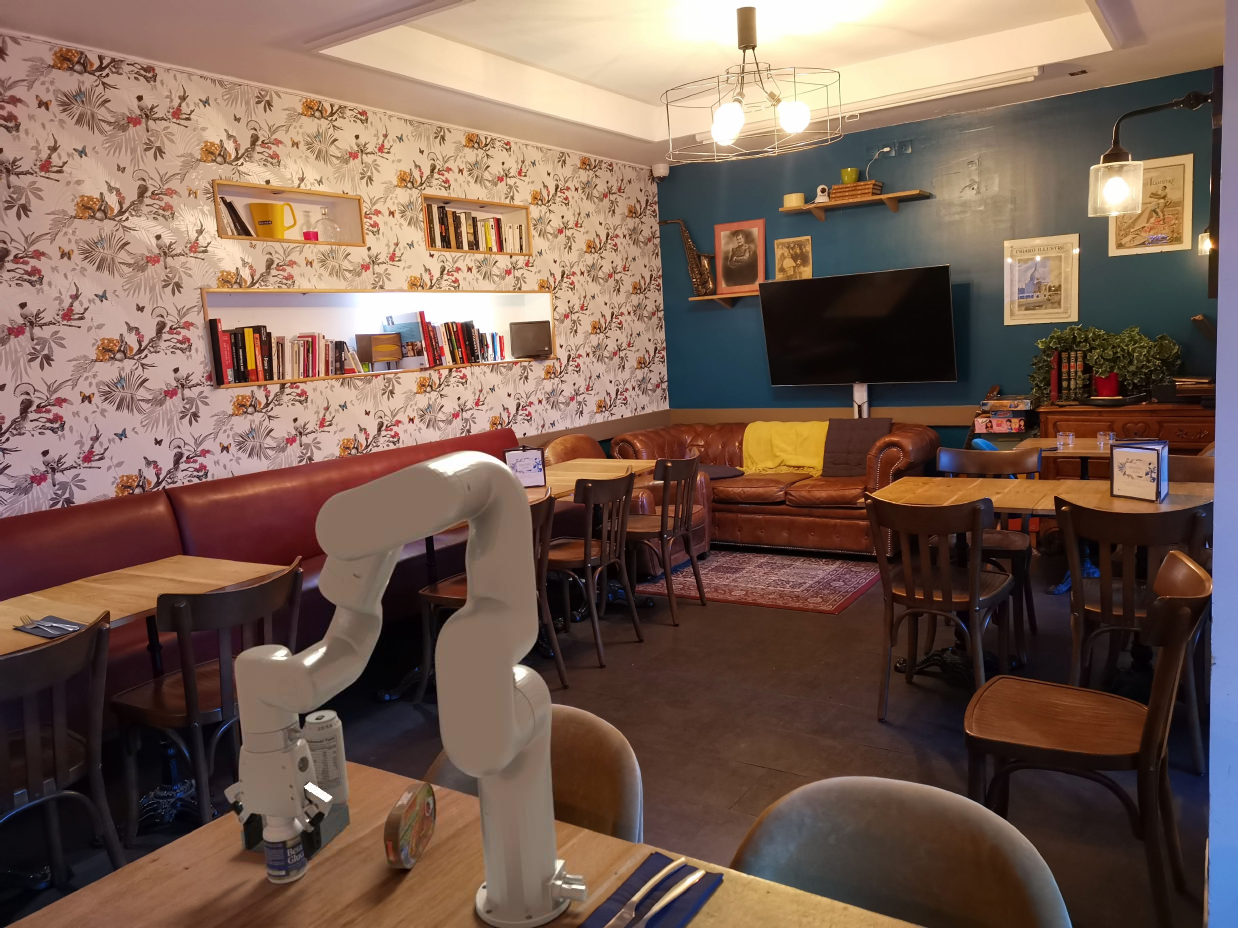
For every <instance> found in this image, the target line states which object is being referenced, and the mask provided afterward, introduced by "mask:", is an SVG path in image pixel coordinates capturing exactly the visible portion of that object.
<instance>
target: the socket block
mask: <svg viewBox="0 0 1238 928" xmlns="http://www.w3.org/2000/svg"><path fill="white" fill-rule="evenodd" d="M313 805H314V806H315V807H316V808H317V810H318V809H319V806H318V804H317V803H315V804H313ZM303 808H304V807H303ZM349 808H350V807H349V804H345V803H344V804H335V803H333V804H332V806H331V809H330V810H329V815H328V816H327V817H326V818H325V819H324V820H323V821H322V822H321V823H320V831H321V840H322V843H321V848H320V849H319V850H318V851H317V852H316V853H315V854H314V855H312V856H311V857H310V858H309V859H312V858H313V857H315V855H317V854H318V853H319V852H320V851H321V850H322V849H324V847H326V846H327V845H328V844H329V843H330V842H331V841H332V840H334V839H335V837H336V836H338V835H339V834H340V833H341V832H342V831H343V830H344V829H345V828H346V827H347V826H348V825H349V824H351V819H350V810H349ZM305 815H306V816H307V817H308V818H309V820H311V819H312V817H311V816H310V815H309V814H308V812H307V811H306V812H305ZM261 816H262V823H263V830H264V828H265V826H266V825H267V821H266V815H263V814H261ZM303 830H305V829H304V828H303ZM240 836H241V843H242V846H241V847H242V850H243V851H248V852H256V853H264V854H265V850H264V842H263V841H261V842H260V843H259V844H258V845H257V846H255V847H254V848H253V849H251V850H246V847H245V839H244V830H243V829H241V830H240Z"/></svg>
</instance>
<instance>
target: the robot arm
mask: <svg viewBox="0 0 1238 928" xmlns="http://www.w3.org/2000/svg"><path fill="white" fill-rule="evenodd" d="M532 520H533V519H532V512H531V504H530V500H529V496H528V494H527V492H526V488H525V487H524V484H523V483H522V481H521V480H520V478H519V477H518V476H517V474H516V473H515V472H514V471H513V469H511V468H510V467H509V466H508V465H507V464H506V463H504V462H503V461H502V460H500V458H499V459H498V458H497V457H495V456H493V455H490V454H488V453H485V452H482V451H477V450H459V451H454V452H450V453H447V454H443V455H440V456H438V457H435V458H431V459H427V460H425V461H421V462H418V463H415V464H412V465H409V466H407V467H403V468H402V469H399V470H396V471H395V472H391V473H389V474H387V475H384V476H381V477H380V478H376V479H373V480H372V481H369V482H367V483H365V484H362V485H359V486H357V487H354V488H350V489H347V490H344V491H340V492H338V493H336V494H334V495H332V496H331V497H329V498H328V499H327V500H326V501H325V502H324V504H323V505H322V506H321V508H320V509H319V512H318V514H317V516H316V521H315V535H316V539H317V542H318V545H319V547H320V548H321V549H322V551H323V552H324V554H326V555H327V557H326V560H325V562H324V564H323V568H322V569H321V572H320V573H319V576H318V581H317V584H318V589H319V591H320V593H321V595H322V596H323V597H324V598H326V600H328V601H329V602H331V603H332V604H334V605H335V606H336V608H335V611H334V615H333V617H332V619H331V621H330V624H329V627H328V629H327V631H326V633H325V635H324V637H323V638H322V640H320V641H318V642H316V643H314V644H312V645H311V646H309V647H307V648H306V649H304V650H302V651H301V652H298V653H297V654H294V655H293V654H292V652H291V651H290V649H289V648H288V647H286V646H284V645H281V644H264V645H259V646H254V647H250V648H248V649H246V650H243V651H242V652H241V653H239V654H238V655H237V657H236V658H235V661H234V677H235V685H236V694H237V703H238V705H237V706H238V713H239V721H240V729H241V730H240V731H241V739H242V740H241V741H242V745H241V747H240V751H239V760H238V782H236V783H233V784H232V785H230V786H228V787H227V788H226V789H224V794H225V797H226V799H227V801H228V802H229V803H230V809H231V810H232V811H233V812H234V813H235V814H236V815H237V821H238V823H239V824H242V830H244V839H245V847H246V850H245V851H248V850H251V849H253V848H254V847H255V846H257V845H258V844H259V843H260V842H261V841H263V823H262V816H261V815H262V814H263V815H271V816H279V817H287V818H296V819H297V820H298V821H299V823H300V824H301V825H302V826H303V829H305V830H304V831H303V832H302V843H303V853H304V857H305V858H307V860H309V859H311V858H310V857H311V856H312V855H314V854H315V853H316V852H317V851H318V850H319V849H320V848H321V843H322V840H321V831H320V823H321V822H322V821H323V820H324V819H325V818H326V817H327V816H328V815H329V810H330V809H331V806H332V804H333V801H334V800H333V798H332V797H331V796H329V795H328V794H326V793H325V792H323V791H321V790H320V789H318V785H317V779H316V773H315V768H314V764H313V760H312V756H311V753H310V750H309V747H308V744H307V742H306V740H305V739H304V738H305V735H306V732H305V730H303V728H300V719H299V718H300V717H299V714H307V713H310V712H312V711H313V712H314V711H315V710H317V709H318V708H320V707H321V706H322V705H324V704H325V703H326V702H328V701H329V700H331V699H332V698H333V697H335V696H337V694H339V693H341V692H342V691H344V690H345V689H346V688H348V687H349V686H350V685H352V684H353V683H354V682H356V681H357V679H358V678H359V677H360V676H361V675H362V673H363V672H364V670H365V668H366V667H367V664H368V662H369V660H370V657H371V655H372V653H373V651H374V649H375V647H376V644H377V642H378V640H379V637H380V634H381V630H382V626H383V605H382V599H383V596H384V594H385V592H386V589H387V586H388V585H389V582H390V579H391V577H392V574H393V572H394V569H395V568H396V565H397V564H398V563H397V562H398V560H399V558H400V556H401V553H403V549H404V547H405V546H406V545H408V544H411V543H414V542H417V541H419V540H422V539H426V538H427V537H430V536H434V535H436V534H438V533H441V532H443V531H446V530H448V529H450V528H452V527H454V526H456V525H459V524H460V523H462V522H464V521H467V523H468V529H469V531H468V538H467V542H466V551H465V570H466V571H465V572H466V580H467V581H466V585H467V586H466V587H467V589H466V590H467V592H466V594H467V595H466V602H465V604H464V606H462V607H461V608H459V609H458V610H457V611H455V612H454V613H453V614H451V615H450V617H449V618H448V619H447V620H446V621H445V623H444V624H443V626H442V628H440V631H439V634H438V637H437V641H436V646H435V651H434V652H435V654H434V663H435V668H434V669H435V681H436V694H437V711H438V720H439V724H438V725H439V731H440V738H441V742H442V745H443V749H444V751H445V754H446V755H447V758H448V759H449V760H450V761H451V763H452V765H453V766H454V767H456V769H458V770H459V771H461V773H464V774H465V775H468V776H470V777H473V778H477V790H478V791H477V792H478V794H477V795H478V805H479V815H480V816H479V817H480V819H479V820H480V829H481V841H482V842H481V843H482V853H483V855H482V856H483V864H484V865H483V866H484V876H485V881H484V882H483V883H482V884H481V885H480V887H479V888H478V889H477V892H476V894H475V910H476V912H477V915H478V916H479V917H480V919H481V920H482V921H484V922H485V923H487V924H489V925H491V926H493V927H496V928H534V927H538V926H542V925H544V924H547V923H549V922H551V921H552V920H555V919H556V918H558V917H559V916H560V915H561V914H562V913H563V912H564V911H565V910H566V909H567V907H569V904H570V902H572V901H573V902H579V903H586V902H587V899H588V897H589V896H588V895H589V887H588V886H587V885H585V882H586V878H585V877H586V876H584V875H581V874H579V875H578V874H569V872H567V871H566V865H565V864H566V862H565V860H564V859H558V853H557V839H556V837H557V836H556V825H555V824H556V823H555V812H554V811H555V810H554V798H553V797H554V795H553V781H552V765H551V761H552V760H551V735H552V716H553V713H552V711H553V709H552V699H551V698H552V697H551V694H550V690H549V687H548V685H547V684H546V683H547V682H545V680H544V679H543V677H542V676H541V675H540V674H539V673H538V672H537V671H536V670H534V669H533V668H531V667H529V666H527V665H524V664H519V663H520V662H521V661H522V659H523V658H525V657H526V656H527V655H528V653H529V652H531V650H532V649H533V647H534V645H535V643H536V642H537V640H538V635H539V615H538V601H537V599H538V598H537V585H536V583H537V582H536V568H535V559H534V557H535V556H534V546H533V545H534V541H533V523H532V522H533V521H532ZM315 803H317V804H318V806H319V809H318V810H317V808H316V807H315V806H314V805H313V804H315ZM303 807H304V808H303ZM306 811H307V812H308V814H309V815H310V816H311V817H312V819H311V820H309V818H308V817H307V816H306V815H305V812H306Z"/></svg>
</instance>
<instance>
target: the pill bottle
mask: <svg viewBox="0 0 1238 928" xmlns="http://www.w3.org/2000/svg"><path fill="white" fill-rule="evenodd" d="M266 821H267V825H266V826H265V828H264V830H263V842H264V850H265V853H264V859H265V865H266V866H265V867H266V876H267V879H268V881H270V882H271V883H272V884H278V885H279V884H286V883H291V882H294V881H296V880H298V879H300V878H301V877H303V876H304V874H306V872H307V870H308V858H305V857H304V853H303V843H302V832H303V831H304V830H303V829H304V828H303V826H302V825H301V824H300V823H299V821H298V820H297V819H296V818H287V817H279V816H271V815H266Z"/></svg>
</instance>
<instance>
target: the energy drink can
mask: <svg viewBox="0 0 1238 928" xmlns="http://www.w3.org/2000/svg"><path fill="white" fill-rule="evenodd" d="M302 730H305V732H306V735H305V738H304V739H305V740H306V742H307V744H308V747H309V750H310V753H311V756H312V760H313V764H314V768H315V773H316V779H317V785H318V789H320V790H321V791H323V792H325V793H326V794H328V795H329V796H331V797H332V798H333V800H334V801H333V803H335V804H344V805H345V803H346V801H347V798H348V797H349V793H350V792H349V791H350V790H349V782H348V774H347V771H348V770H347V765H346V755H345V753H346V752H345V744H344V734H343V725H342V721H341V719H340V718H339V717H338V715H337V712H336V711H335V710H332V709H325V710H319V711H318V710H317V711H313V712H312V713H310V714H308V715H307V716H306V717H305V722H304V725H303V728H302Z"/></svg>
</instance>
